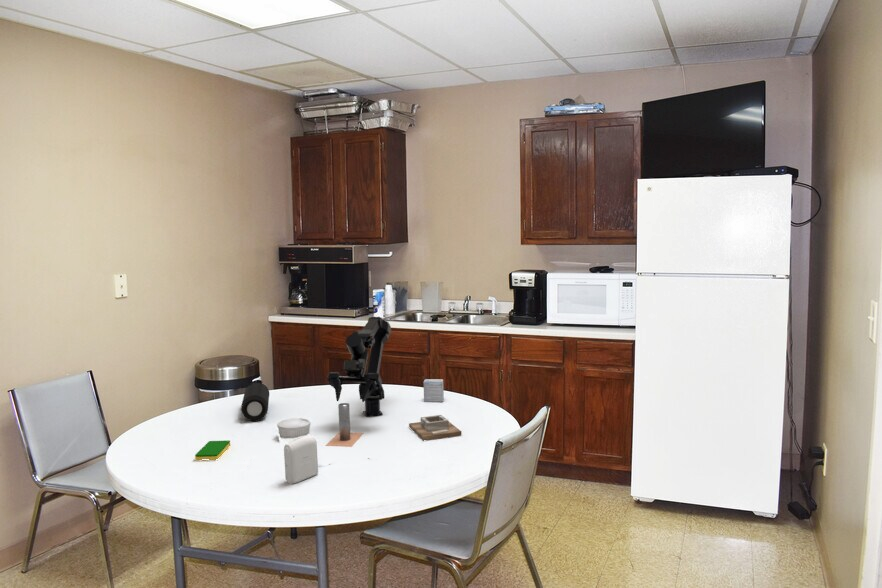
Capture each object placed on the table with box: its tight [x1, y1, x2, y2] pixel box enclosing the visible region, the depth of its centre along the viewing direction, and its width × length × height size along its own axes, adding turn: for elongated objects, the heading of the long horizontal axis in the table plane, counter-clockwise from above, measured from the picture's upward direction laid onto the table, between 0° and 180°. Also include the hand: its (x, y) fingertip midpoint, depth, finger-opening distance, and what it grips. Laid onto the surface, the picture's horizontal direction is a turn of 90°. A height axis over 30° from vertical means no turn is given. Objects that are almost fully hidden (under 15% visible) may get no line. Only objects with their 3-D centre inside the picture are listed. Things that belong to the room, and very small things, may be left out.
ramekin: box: [276, 417, 312, 438], centre depth 231 cm, size 11×11×5 cm
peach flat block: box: [325, 432, 364, 448], centre depth 223 cm, size 14×9×2 cm, turn 170°
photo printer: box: [283, 434, 319, 485], centre depth 193 cm, size 10×4×12 cm, turn 140°
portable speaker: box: [240, 382, 270, 422], centre depth 261 cm, size 26×10×10 cm, turn 13°
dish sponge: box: [194, 440, 231, 460], centre depth 217 cm, size 7×14×2 cm, turn 1°
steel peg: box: [337, 402, 351, 441], centre depth 223 cm, size 4×4×12 cm
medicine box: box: [423, 378, 445, 403], centre depth 274 cm, size 8×4×9 cm, turn 84°
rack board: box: [408, 414, 462, 442], centre depth 234 cm, size 16×14×4 cm
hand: (350, 401), depth 229 cm, fingers open, 9 cm apart
